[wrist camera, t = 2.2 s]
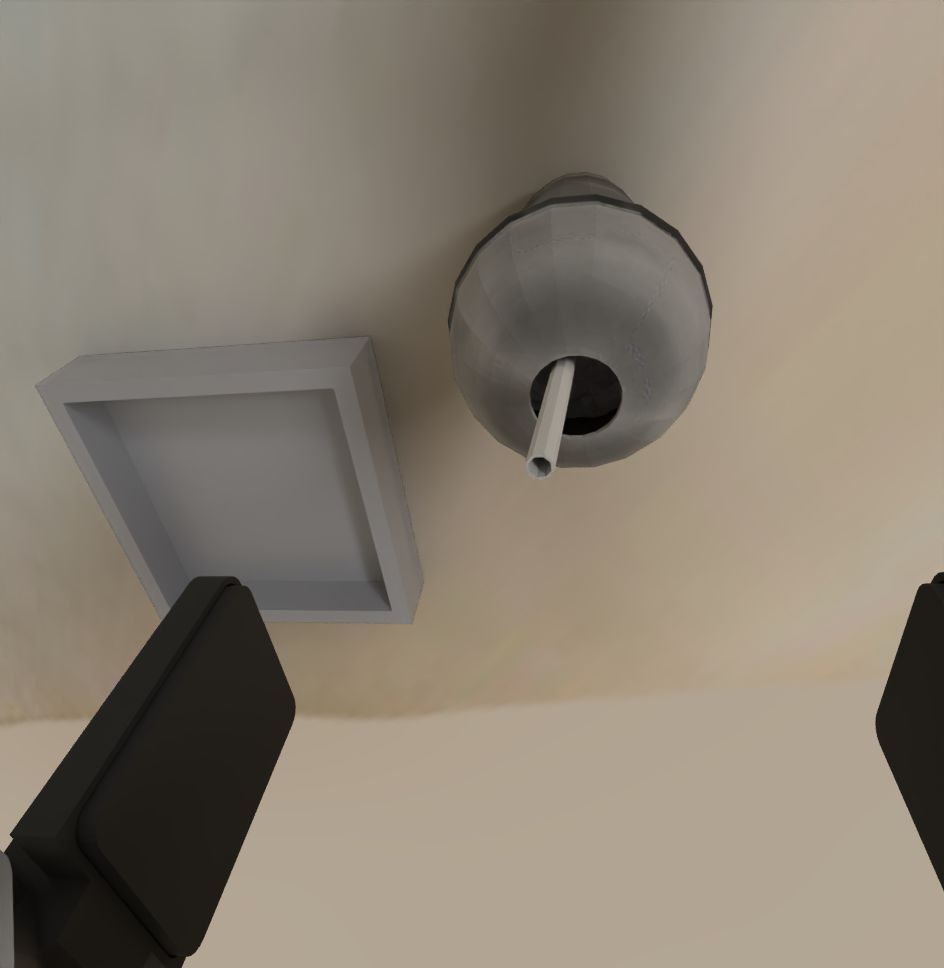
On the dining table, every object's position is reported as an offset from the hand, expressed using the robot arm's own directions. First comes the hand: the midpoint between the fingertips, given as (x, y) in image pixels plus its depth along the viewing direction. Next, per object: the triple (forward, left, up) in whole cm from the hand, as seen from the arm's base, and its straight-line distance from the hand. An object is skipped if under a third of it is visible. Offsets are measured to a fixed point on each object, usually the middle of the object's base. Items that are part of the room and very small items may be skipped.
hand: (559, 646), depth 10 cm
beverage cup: (0, 0, -23) cm, 23 cm away
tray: (+12, -18, -23) cm, 31 cm away
